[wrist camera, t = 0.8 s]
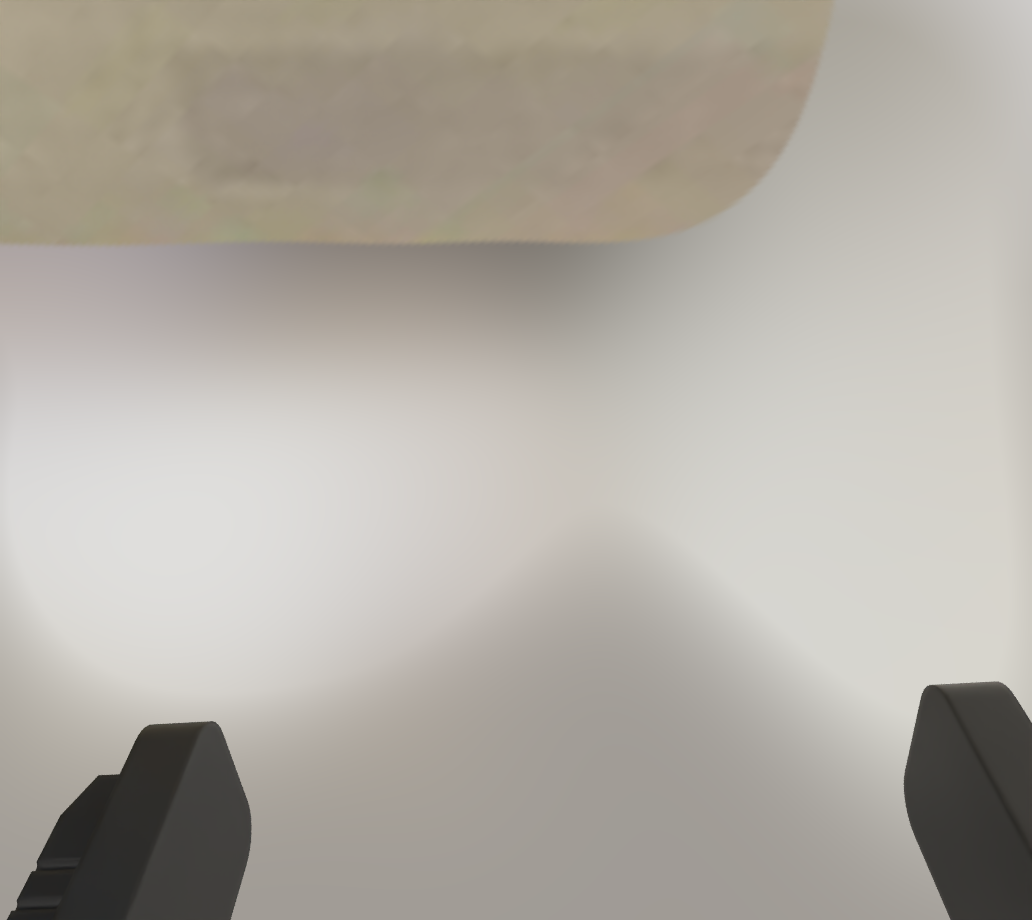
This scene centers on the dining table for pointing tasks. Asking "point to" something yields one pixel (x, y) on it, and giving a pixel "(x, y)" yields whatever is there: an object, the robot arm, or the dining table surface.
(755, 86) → the dining table surface
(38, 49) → the dining table surface
